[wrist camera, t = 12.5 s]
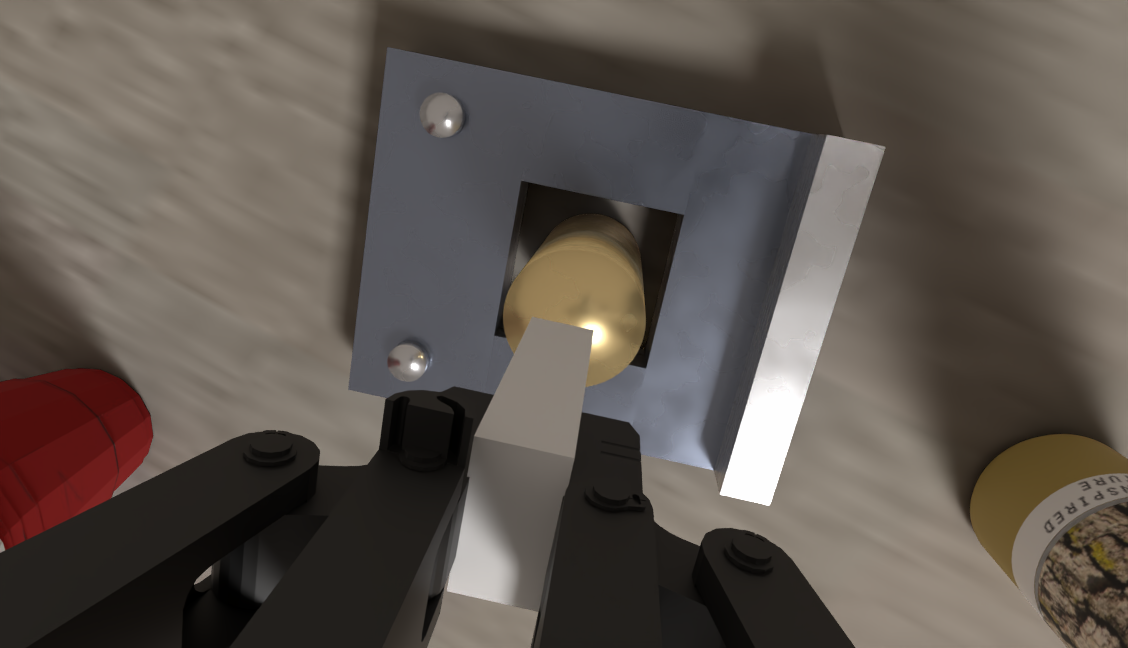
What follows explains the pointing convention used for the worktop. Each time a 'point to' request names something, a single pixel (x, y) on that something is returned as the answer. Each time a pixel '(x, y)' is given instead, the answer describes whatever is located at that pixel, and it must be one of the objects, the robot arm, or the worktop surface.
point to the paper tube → (1061, 533)
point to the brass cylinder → (584, 291)
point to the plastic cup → (65, 447)
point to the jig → (628, 174)
